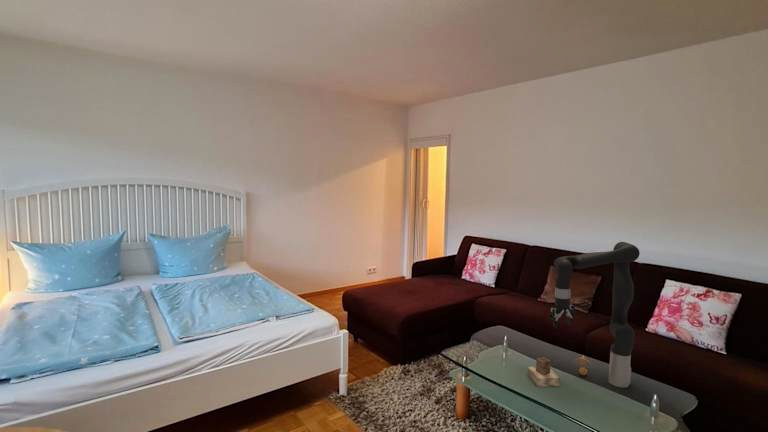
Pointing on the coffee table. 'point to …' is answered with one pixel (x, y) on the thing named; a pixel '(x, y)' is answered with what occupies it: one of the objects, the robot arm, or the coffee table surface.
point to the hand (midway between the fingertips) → (562, 325)
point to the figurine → (583, 370)
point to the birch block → (543, 378)
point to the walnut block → (543, 365)
